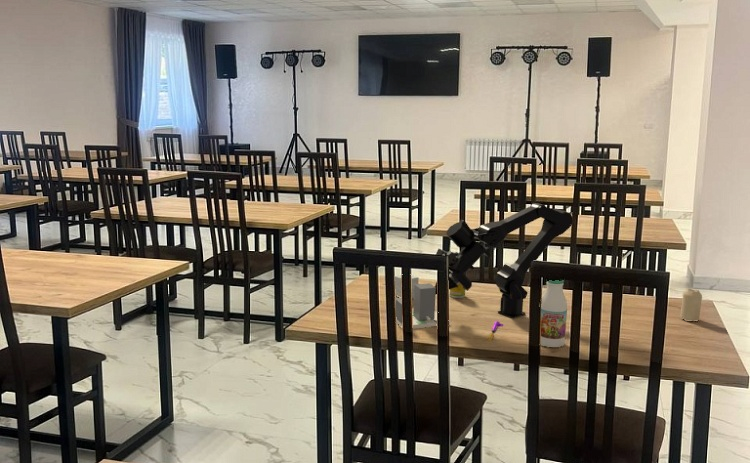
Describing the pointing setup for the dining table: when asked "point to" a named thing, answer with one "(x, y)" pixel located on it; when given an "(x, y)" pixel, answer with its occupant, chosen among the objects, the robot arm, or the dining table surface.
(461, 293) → the supplement bottle
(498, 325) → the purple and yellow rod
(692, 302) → the candle
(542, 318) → the milk bottle
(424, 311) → the gray block
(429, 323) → the plate
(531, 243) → the robot arm
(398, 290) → the product box
